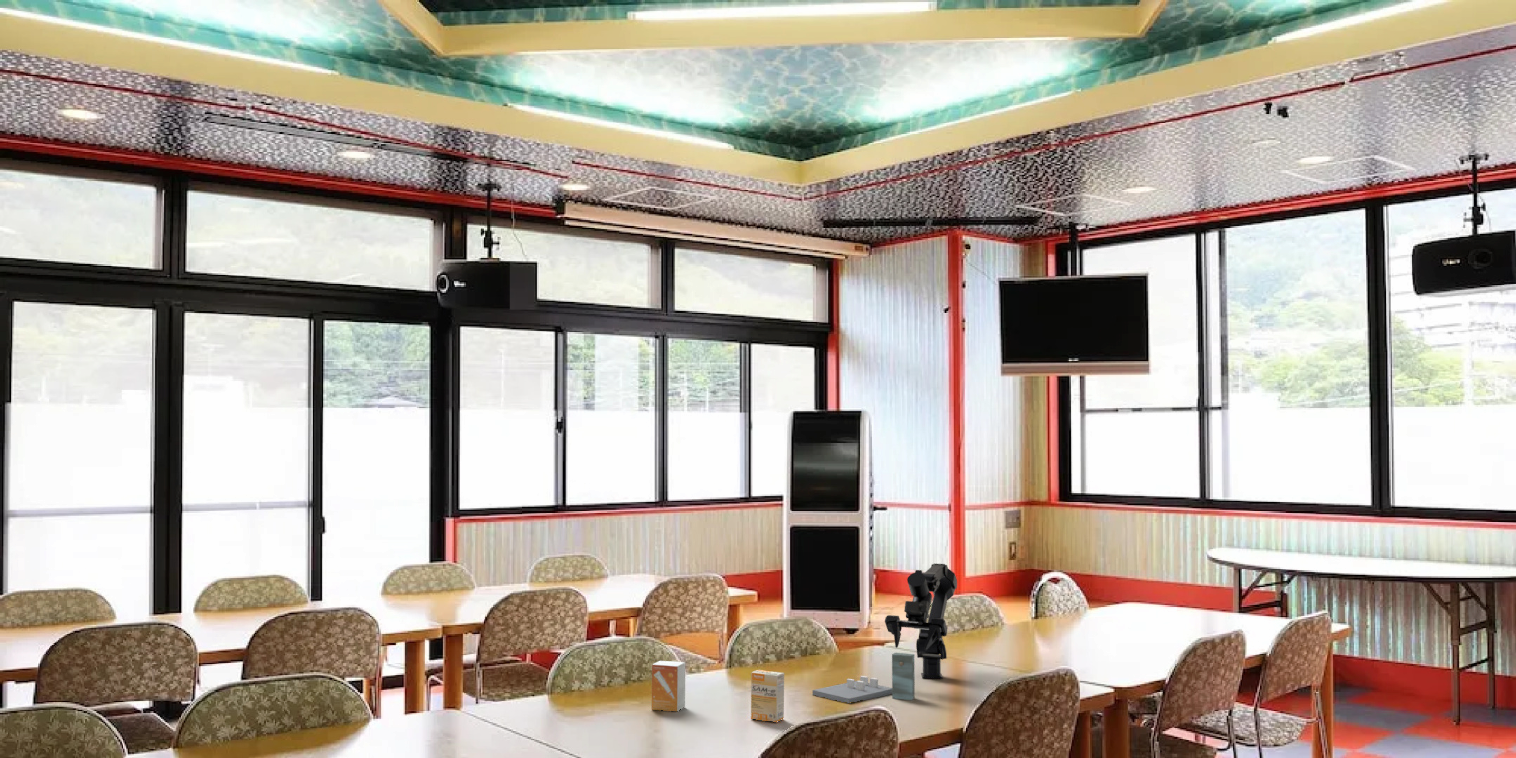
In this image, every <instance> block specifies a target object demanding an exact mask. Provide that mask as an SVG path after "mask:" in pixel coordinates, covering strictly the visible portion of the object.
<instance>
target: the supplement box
mask: <svg viewBox="0 0 1516 758" xmlns="http://www.w3.org/2000/svg"><path fill="white" fill-rule="evenodd" d="M750 674H751V678H750V679H751V681H750V682H751V684H750V685H751V686H750V692H751V693H750V699H751V700H750V720H751V719H756V720H755V721H757V720H762V721H761V722H765V721H773V722H777V721H780V720H781V719H783V718H785V713H784V712H785V672H779V671H768V670H762V669H757V670H754V671H752V672H751V673H750ZM773 722H772V723H773ZM780 722H781V721H780Z"/></svg>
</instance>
